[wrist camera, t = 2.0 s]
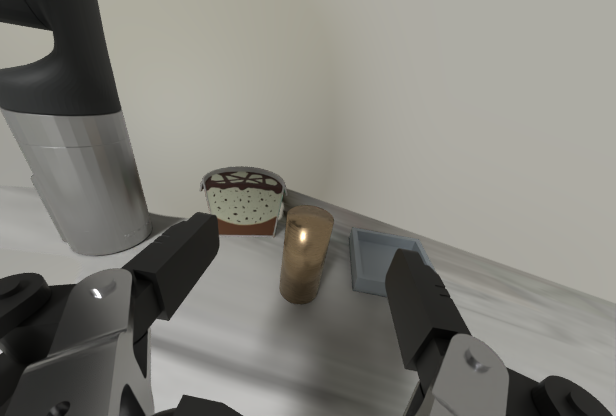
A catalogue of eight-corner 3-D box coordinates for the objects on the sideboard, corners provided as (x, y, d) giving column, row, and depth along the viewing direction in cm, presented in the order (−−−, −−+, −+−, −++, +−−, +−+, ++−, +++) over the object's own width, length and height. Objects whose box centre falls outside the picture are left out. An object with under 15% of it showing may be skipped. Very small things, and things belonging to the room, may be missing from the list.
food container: (281, 217, 43) (285, 168, 38) (282, 237, 38) (288, 183, 33) (213, 215, 40) (208, 162, 35) (205, 236, 35) (198, 177, 30)
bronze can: (275, 299, 27) (282, 225, 21) (284, 270, 31) (291, 202, 26) (315, 307, 27) (333, 235, 21) (318, 276, 31) (334, 209, 26)
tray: (352, 290, 30) (357, 277, 28) (348, 238, 40) (352, 227, 39) (439, 307, 29) (447, 294, 28) (413, 250, 39) (418, 239, 38)
